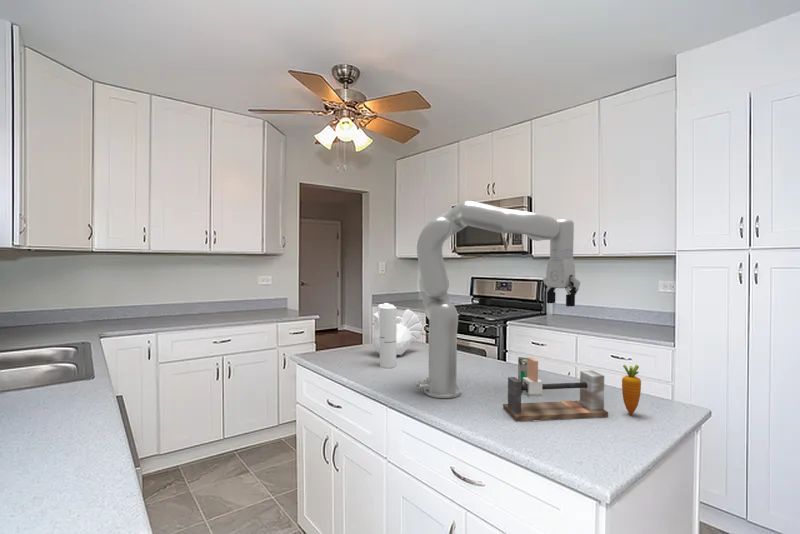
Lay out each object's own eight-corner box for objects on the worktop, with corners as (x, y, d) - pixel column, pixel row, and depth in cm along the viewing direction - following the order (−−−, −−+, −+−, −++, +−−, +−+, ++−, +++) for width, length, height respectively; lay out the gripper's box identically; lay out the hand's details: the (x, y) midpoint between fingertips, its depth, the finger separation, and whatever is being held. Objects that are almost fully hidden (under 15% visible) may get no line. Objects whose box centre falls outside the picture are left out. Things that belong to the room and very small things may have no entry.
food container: (539, 395, 139) (540, 366, 138) (520, 394, 140) (521, 365, 140) (535, 384, 151) (535, 357, 151) (517, 383, 152) (518, 356, 152)
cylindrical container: (386, 362, 181) (386, 306, 181) (399, 365, 177) (399, 307, 176) (376, 366, 175) (376, 307, 175) (389, 369, 171) (389, 309, 171)
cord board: (516, 421, 117) (516, 381, 116) (503, 408, 126) (503, 371, 126) (608, 417, 120) (608, 377, 120) (588, 404, 130) (588, 368, 130)
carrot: (617, 412, 124) (618, 363, 123) (629, 410, 125) (629, 361, 125) (632, 418, 119) (633, 367, 119) (644, 416, 121) (645, 365, 121)
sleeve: (529, 397, 120) (529, 361, 120) (522, 392, 124) (522, 357, 124) (542, 397, 120) (542, 361, 120) (535, 392, 125) (535, 357, 125)
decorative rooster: (374, 359, 187) (375, 305, 186) (370, 352, 202) (370, 301, 201) (428, 357, 192) (428, 304, 191) (419, 349, 207) (419, 300, 207)
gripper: (536, 255, 150) (535, 302, 150) (570, 255, 134) (569, 307, 134) (553, 255, 152) (552, 301, 153) (588, 255, 136) (587, 307, 136)
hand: (560, 304), depth 143 cm, fingers open, 9 cm apart
